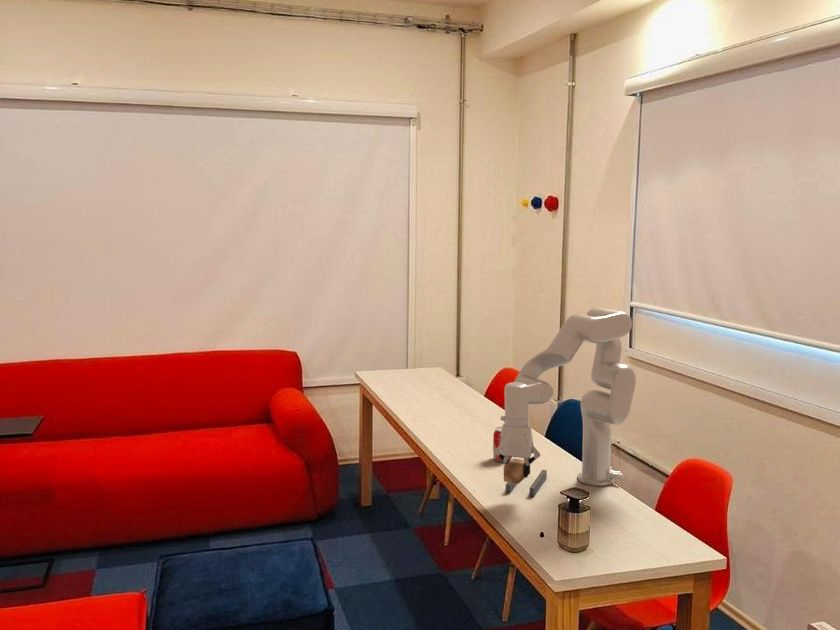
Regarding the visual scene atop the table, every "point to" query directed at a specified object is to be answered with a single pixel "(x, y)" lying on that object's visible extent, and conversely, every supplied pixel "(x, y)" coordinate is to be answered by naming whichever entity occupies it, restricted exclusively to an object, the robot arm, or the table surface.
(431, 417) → the table surface
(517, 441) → the robot arm
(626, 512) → the table surface
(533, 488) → the guide channel
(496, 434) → the soda can
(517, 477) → the walnut block
